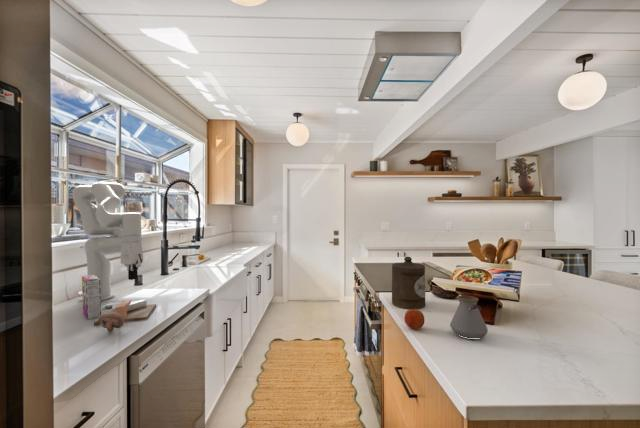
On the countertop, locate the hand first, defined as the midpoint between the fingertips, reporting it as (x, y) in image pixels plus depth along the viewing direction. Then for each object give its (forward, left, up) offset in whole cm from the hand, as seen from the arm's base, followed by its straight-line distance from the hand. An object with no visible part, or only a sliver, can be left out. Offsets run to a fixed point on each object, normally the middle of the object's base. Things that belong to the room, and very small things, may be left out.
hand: (133, 279), depth 134 cm
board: (+1, -11, -13) cm, 17 cm away
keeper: (0, -14, -12) cm, 19 cm away
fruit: (+105, -65, -14) cm, 125 cm away
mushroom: (+1, -31, -14) cm, 33 cm away
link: (-1, -9, -12) cm, 15 cm away
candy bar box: (-14, -5, -14) cm, 20 cm away
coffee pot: (+116, -81, -14) cm, 142 cm away
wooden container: (+120, -41, -14) cm, 128 cm away
